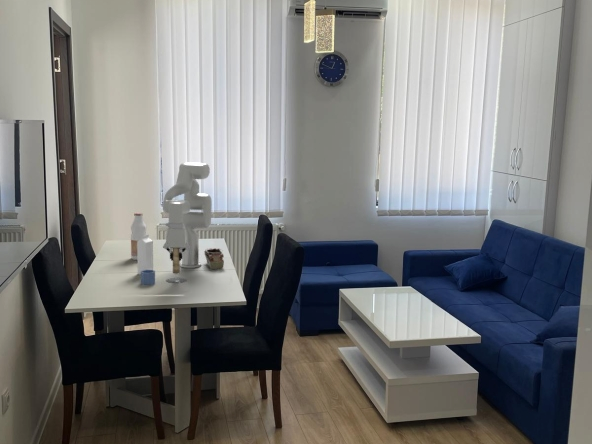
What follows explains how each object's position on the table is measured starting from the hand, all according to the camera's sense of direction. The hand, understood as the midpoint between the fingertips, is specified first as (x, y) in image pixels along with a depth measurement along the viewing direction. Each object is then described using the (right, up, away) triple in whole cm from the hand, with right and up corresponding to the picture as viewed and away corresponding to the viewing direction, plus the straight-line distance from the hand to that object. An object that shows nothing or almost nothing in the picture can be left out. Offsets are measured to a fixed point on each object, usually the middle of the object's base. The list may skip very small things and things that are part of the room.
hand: (176, 259), depth 323 cm
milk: (-20, -9, +15) cm, 27 cm away
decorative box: (+13, -6, +39) cm, 42 cm away
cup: (-14, -13, -4) cm, 19 cm away
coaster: (0, -12, +2) cm, 12 cm away
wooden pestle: (0, -7, +1) cm, 7 cm away
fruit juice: (-33, -3, +52) cm, 62 cm away
